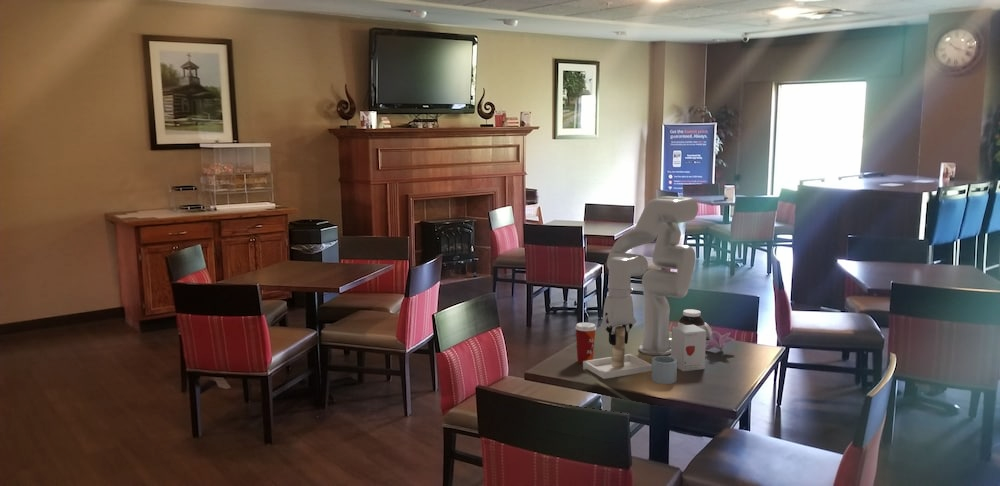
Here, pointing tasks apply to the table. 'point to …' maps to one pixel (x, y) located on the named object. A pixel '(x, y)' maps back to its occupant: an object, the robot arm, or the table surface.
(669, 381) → the cup
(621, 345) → the dowel
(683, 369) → the supplement box
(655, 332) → the robot arm
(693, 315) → the spread jar
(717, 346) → the lily
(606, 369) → the tray
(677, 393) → the table surface
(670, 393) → the table surface
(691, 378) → the table surface
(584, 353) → the paper cup
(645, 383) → the table surface
